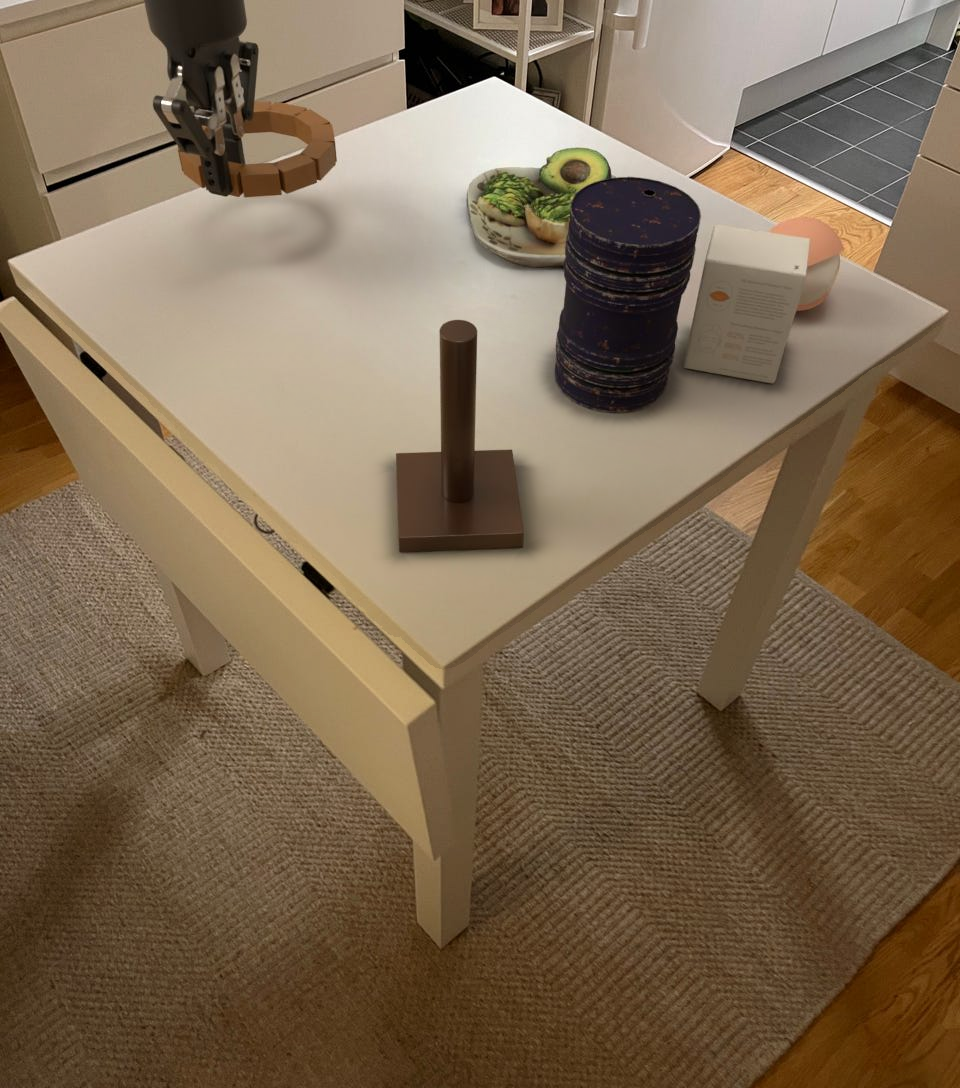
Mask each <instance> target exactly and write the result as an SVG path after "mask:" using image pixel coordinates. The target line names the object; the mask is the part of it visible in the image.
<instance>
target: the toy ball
mask: <svg viewBox="0 0 960 1088" xmlns="http://www.w3.org/2000/svg"><path fill="white" fill-rule="evenodd" d="M768 232H769V233H776V234H782V235H789V236H795V237H802V238H810V248H809V256H808V265H807V273H806V279H805V283H804V286H803V290H802V293H801V296H800V300H799V303H798V306H797V310H796V312H801V311H806V310H811V309H813V308H815V307H817V306H819V305H820V304H821V303H822V302H824V301H825V299H826V298H827V297H828V295H829V293H830V292H831V290H832V287H833V286H834V284H835V282H836V280H837V278H838V276H839V272H840V266H841V256H840V254H841V253H842V252H843V251H844V250H845V247H844V244H843V242H842V239H841V238H840V236H839V234H838V233H837V232H836V231H835V229H834V228H833V227H832V226H830V224H828V223H826V222H824V221H823V220H821V219H818V218H814V217H808V216H800V217H799V216H798V217H793V218H789V219H786V220H784V221H782V222H780V223H778V224H776V225H775V226H774V227H772V228H771V229H770V230H769V231H768Z"/></svg>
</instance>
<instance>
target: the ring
mask: <svg viewBox="0 0 960 1088" xmlns="http://www.w3.org/2000/svg"><path fill="white" fill-rule="evenodd" d="M244 127H245V132H244V135H246V134H263V133H274V134H279V135H284V136H288V137H294V138H297V139H299V140H300V141H302V142H303V143H305V144H306V147H304V149H302V151H301V152H300V153H297V154H295V155H294V154H293V155H291V156H289V157H286V158H283V159H281V160H278V161H277V160H276V161H274V162H262V163H259V162H258V163H245V164H239V163H234V162H229V161H228V164H229V169H230V177H231V183H232V188H233V191H232V193H230V194H229V195H228V196H231V197H237V198H240V197H241V196H243V197H244V198H255V197H256V198H257V197H258V198H259V197H272V196H273V197H274V196H282V194H283V193H285V194H286V195H288V194H290V193H294V192H296V191H298V190H301V189H304V188H307V187H309V186H312V185H315V184H317V183H318V181H322V180H323V179H324V178H325V176H327V175H328V174H329V172H331V170H332V169H333V168H334V167H336V164H337V162H338V158H337V157H338V156H337V147H336V139H335V134H334V128H333V124H332V123H331V121H329V120H328V119H327V118H326V117H325V118H324V117H323V116H322V115H320V114H319V113H317V112H315V111H314V110H313V109H311V108H310V109H308V108H307V107H305V106H300V105H294V104H289V103H286V102H285V103H284V102H280V101H274V102H273V103H272V101H254V112H253V118H252V120H251V121H245V123H244ZM202 128H203V130H204V132H205V133H206V135H207V137H210V138H211V134H210V129H209V128H208V127H207V126H203V125H202ZM177 153H178V158H179V163H180V167H181V171H182V173H183V175H184V176H186V177H187V178H188V179H190V180H191V181H192V182H194V183H195V184H196V185H197V186H198V187H200V188H201V189H205V190H206V191H208V189H207V187H206V185H205V180H204V179H205V178H204V175H203V170H202V165H201V160H200V156H199V155H195V154H191V153H183V152H182V151H181V150H180V149H179V147H178V146H177ZM282 192H283V193H282Z"/></svg>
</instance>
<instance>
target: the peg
mask: <svg viewBox="0 0 960 1088" xmlns="http://www.w3.org/2000/svg"><path fill="white" fill-rule="evenodd" d="M477 361H478V329H477V327H476V325H475V324H473V323H472V322H470V321H468V320H465V319H451V320H448V321H446V322H444V323H442V325H441V326H440V327H439V397H440V398H439V399H440V400H439V402H440V403H439V404H440V407H439V408H440V451H422V452H419V451H418V452H396V453H395V466H396V467H395V469H396V470H395V471H396V499H397V501H396V502H397V505H396V506H397V532H398V533H397V535H398V552H400V553H406V552H407V553H408V552H409V553H410V552H434V551H459V550H460V551H461V550H481V549H482V550H484V549H512V548H523V547H524V533H525V532H524V526H523V519H522V518H523V517H522V511H521V505H520V504H521V503H520V497H519V496H520V495H519V490H518V483H517V475H516V467H515V461H514V452H513V449H485V450H484V449H483V450H482V449H481V450H476V414H477V413H476V411H477V410H476V405H477V367H478V366H477V365H478V364H477Z"/></svg>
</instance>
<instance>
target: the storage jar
mask: <svg viewBox="0 0 960 1088" xmlns="http://www.w3.org/2000/svg"><path fill="white" fill-rule="evenodd" d="M701 220H702V212H701V209H700V206H699V204H698V203H697V202H696V200H695V199H693V198H692V197H691V195H689V194H688V193H686V192H685V191H684V190H682V189H680V188H678V187H677V186H675V185H671V184H669V183H668V182H667V183H666V182H663V181H660V180H657V179H652V178H647V177H646V178H645V177H637V176H616V178H609V179H604V180H600V181H597V182H593V183H591V184H589V185H587V186H585V187H583V188H582V189H580V190H579V191H578V192H577V193H576V194H575V196H574V197H573V199H572V201H571V206H570V221H569V227H568V233H567V236H566V246H565V256H566V257H565V260H564V266H562V267H563V276H564V281H565V290H564V299H563V307H562V310H561V311H560V314H559V320H558V329H557V332H556V337H555V338H556V339H555V364H554V374H553V375H554V380H555V383H556V386H557V387H558V388H559V390H560V392H561V393H563V395H564V396H565V397H566V398H568V399H570V400H571V401H572V402H574V403H575V404H578V405H579V406H582V407H583V408H586V409H590V410H594V411H596V412H602V413H612V414H619V413H620V414H621V413H630V412H631V413H632V412H635V411H639V410H642V409H646V408H647V407H649V406H651V405H652V404H655V402H657V401H658V400H659V399H660V398H661V397H662V396H663V395H664V393H665V391H666V388H667V383H668V378H669V376H668V375H669V373H670V370H671V369H670V368H671V366H672V364H673V361H674V356H675V351H676V340H677V335H678V330H679V327H678V324H679V323H678V316H679V311H680V306H681V301H682V297H683V294H684V293H685V292H686V290H687V287H688V284H689V282H690V280H691V270H692V268H693V264H694V259H695V254H696V244H697V238H698V232H699V229H700V224H701Z"/></svg>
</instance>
